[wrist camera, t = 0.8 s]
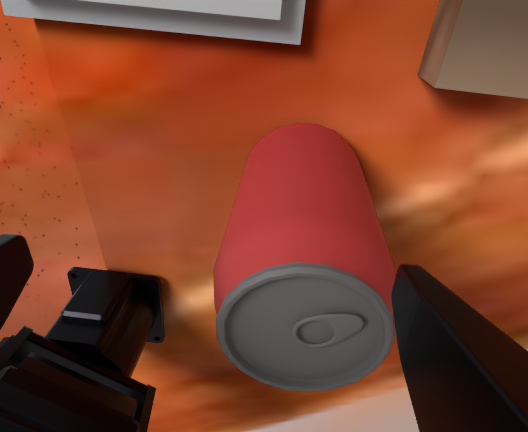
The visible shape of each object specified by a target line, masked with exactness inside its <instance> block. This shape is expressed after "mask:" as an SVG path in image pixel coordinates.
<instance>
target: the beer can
mask: <svg viewBox="0 0 528 432" xmlns="http://www.w3.org/2000/svg"><path fill="white" fill-rule="evenodd" d="M395 278H396V277H395V269H394V263H393V260H392V257H391V254H390V251H389V248H388V245H387V242H386V239H385V236H384V233H383V231H382V228H381V225H380V222H379V219H378V216H377V213H376V210H375V207H374V204H373V201H372V198H371V195H370V192H369V189H368V186H367V183H366V180H365V178H364V175H363V172H362V169H361V166H360V163H359V160H358V158H357V156H356V154H355V152H354V151H353V149H352V147H351V145H350V144H349V143H348V142H347V141H346V140H345V139H344V138H342V137H341V136H340V135H339V134H338V133H337V132H335V131H333V130H330V129H328V128H325V127H323V126H320V125H318V124H306V123H295V124H291V125H287V126H283V127H279V128H277V129H275V130H274V131H272V132H270V133H269V134H267V135H265V136H264V137H262V138H261V140H260V141H259V142H258V143H257V144H256V145H255V147H254V148H253V149H252V150H251V151H250V154H249V157H248V159H247V162H246V165H245V167H244V171H243V174H242V177H241V181H240V184H239V187H238V191H237V194H236V197H235V201H234V204H233V207H232V211H231V214H230V217H229V221H228V224H227V227H226V231H225V234H224V237H223V241H222V244H221V247H220V251H219V254H218V257H217V261H216V264H215V267H214V302H215V309H216V313H217V317H216V330H217V339H218V341H219V344H220V346H221V348H222V350H223V352H224V354H225V356H226V357H227V358H228V359H229V360H230V361H231V362H232V363H233V364H234V365H235V366H236V367H237V368H238V369H239V370H240V371H242V372H243V373H245V374H247V375H248V376H250V377H252V378H254V379H256V380H257V381H259V382H261V383H263V384H267V385H270V386H273V387H277V388H280V389H283V390H292V391H302V392H314V391H325V390H333V389H336V388H339V387H343V386H346V385H349V384H352V383H355V382H356V381H358V380H360V379H361V378H363V377H365V376H366V375H368V374H369V373H371V372H373V371H374V370H375V369H376V368H377V367H378V366H379V365H380V364H381V362H382V361H383V360H384V359H385V358H386V357H387V355H388V354H389V352H390V349H391V346H392V343H393V340H394V337H395V331H394V324H393V308H392V301H391V293H392V288H393V285H394V281H395Z"/></svg>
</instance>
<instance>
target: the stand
mask: <svg viewBox="0 0 528 432" xmlns="http://www.w3.org/2000/svg"><path fill="white" fill-rule="evenodd" d="M305 2H306V0H1V3H2V7H3V11H4V15H8V16H17V17H27V18H37V19H47V20H57V21H67V22H77V23H87V24H97V25H107V26H117V27H127V28H137V29H147V30H157V31H167V32H177V33H187V34H197V35H207V36H217V37H227V38H236V39H246V40H256V41H266V42H276V43H286V44H296V45H300V43H301V35H302V27H303V18H304V10H305Z"/></svg>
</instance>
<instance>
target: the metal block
mask: <svg viewBox="0 0 528 432" xmlns="http://www.w3.org/2000/svg"><path fill="white" fill-rule="evenodd" d="M418 76H419V77H421V78H422V79H424V80H425V81H426V82H428V83H429V84H430V85H432V86H433V87H434V88H440V89H449V90H457V91H466V92H474V93H483V94H491V95H500V96H508V97H517V98H525V99H528V0H440V1H439V5H438V8H437V11H436V15H435V18H434V22H433V25H432V28H431V32H430V35H429V38H428V42H427V45H426V49H425V52H424V55H423V59H422V62H421V65H420V69H419V72H418Z"/></svg>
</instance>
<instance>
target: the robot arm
mask: <svg viewBox="0 0 528 432" xmlns="http://www.w3.org/2000/svg"><path fill="white" fill-rule="evenodd" d="M33 267H34V262H33V259H32V256H31V253H30V250H29V247H28V244H27V241H26V239H25V238H24V237H23V236H21V235H14V234H3V235H0V330H1V328H2V326H3V325H4V323H5V321H6V320H7V318H8V316H9V314H10V312H11V311H12V309H13V307H14V305H15V303H16V301H17V299H18V298H19V296H20V294H21V292H22V290H23V288H24V287H25V285H26V283H27V281H28V279H29V277H30V275H31V274H32V271H33ZM76 274H77V275H76ZM68 279H69V283H70V287H71V291H72V295H73V296H72V297H71V299H70V300H69V301H68V303H67V304H66V306H65V307H64V308H63V310H62V311H61V315H60V316H59V318H58V319H57V321H56V322H55V323H54V325H53V326H52V328H51V329H50V330H49V332H48V333H47V334H46V336H45V337H43V336H41V335H39V334H37V333H35V332H33V330H32V329H30V328H28V327H26V326H24V327H23V328H22V329H21V330H20V332H19V333H18V334H17V335H16V336H14V335H12V336H11V337H6V338H3V339H2V341H1V342H0V432H147V428H148V424H149V419H150V414H151V410H152V405H153V400H154V396H155V391H156V388H155V387H152V386H150V385H145V384H142V383H140V382H138V381H136V380H134V379H132V378H131V376H132V374H133V371H134V369H135V367H136V364H137V362H138V360H139V357H140V355H141V353H142V350H143V348H144V346H145V343H146V342H154V343H161V342H163V340H164V337H165V329H164V317H163V305H162V293H161V282H160V280H159V278H157V277H155V276H149V275H141V274H132V273H124V272H115V271H107V270H98V269H89V268H81V267H73V268H71V269H70V271H69V272H68ZM151 282H152V283H154V284H152V283H151ZM391 301H392V308H393V314H394V321H395V328H396V335H397V342H398V349H399V355H400V360H401V364H402V368H403V372H404V376H405V380H406V383H407V387H408V391H409V394H410V398H411V401H412V405H413V409H414V412H415V416H416V420H417V424H418V428H419V431H420V432H528V351H527V350H526V349H524V348H523V347H522V346H520V345H519V344H518V343H517V342H515V341H514V340H513V339H512V338H510V337H509V336H508V335H507V334H505V333H504V332H503V331H502V330H500V329H499V328H498V327H496V326H495V325H494V324H493V323H491V322H490V321H489V320H488V319H486V318H485V317H484V316H483V315H481V314H480V313H479V312H477V311H476V310H475V309H474V308H472V307H471V306H470V305H469V304H467V303H466V302H465V301H464V300H462V299H461V298H460V297H459V296H457V295H456V294H455V293H453V292H452V291H451V290H450V289H448V288H447V287H446V286H445V285H443V284H442V283H441V282H440V281H438V280H437V279H436V278H435V277H433V276H432V275H431V274H429V273H428V272H427V271H426V270H424V269H423V268H422V267H420V266H419V265H412V264H401V265H400V266H399V268H398V271H397V274H396V278H395V281H394V285H393V288H392V293H391Z"/></svg>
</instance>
